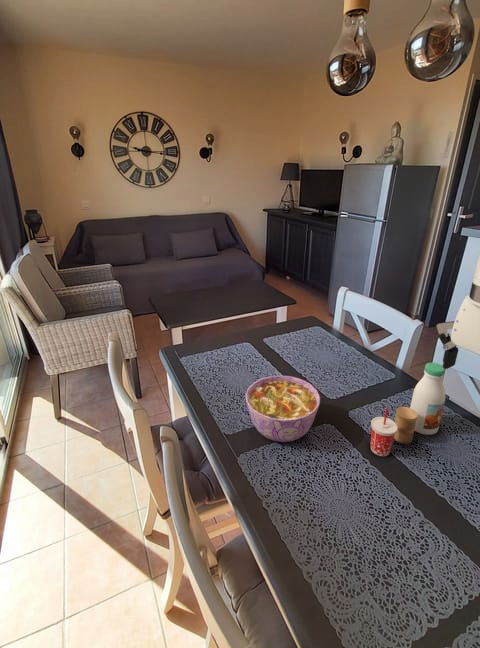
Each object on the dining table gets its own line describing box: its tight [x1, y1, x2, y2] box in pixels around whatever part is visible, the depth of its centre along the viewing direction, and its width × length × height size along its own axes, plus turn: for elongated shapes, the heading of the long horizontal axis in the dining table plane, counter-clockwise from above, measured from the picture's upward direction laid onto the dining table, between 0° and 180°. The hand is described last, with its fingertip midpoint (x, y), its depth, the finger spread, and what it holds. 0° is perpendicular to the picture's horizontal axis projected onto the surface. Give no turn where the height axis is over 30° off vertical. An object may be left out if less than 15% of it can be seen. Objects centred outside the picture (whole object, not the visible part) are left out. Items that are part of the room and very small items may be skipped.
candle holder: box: [393, 406, 417, 444], centre depth 95 cm, size 6×6×9 cm
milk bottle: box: [409, 362, 446, 436], centre depth 97 cm, size 8×8×20 cm
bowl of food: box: [244, 374, 321, 443], centre depth 99 cm, size 20×20×12 cm
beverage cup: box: [370, 407, 398, 457], centre depth 90 cm, size 6×6×14 cm
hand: (472, 377), depth 70 cm, fingers open, 9 cm apart
